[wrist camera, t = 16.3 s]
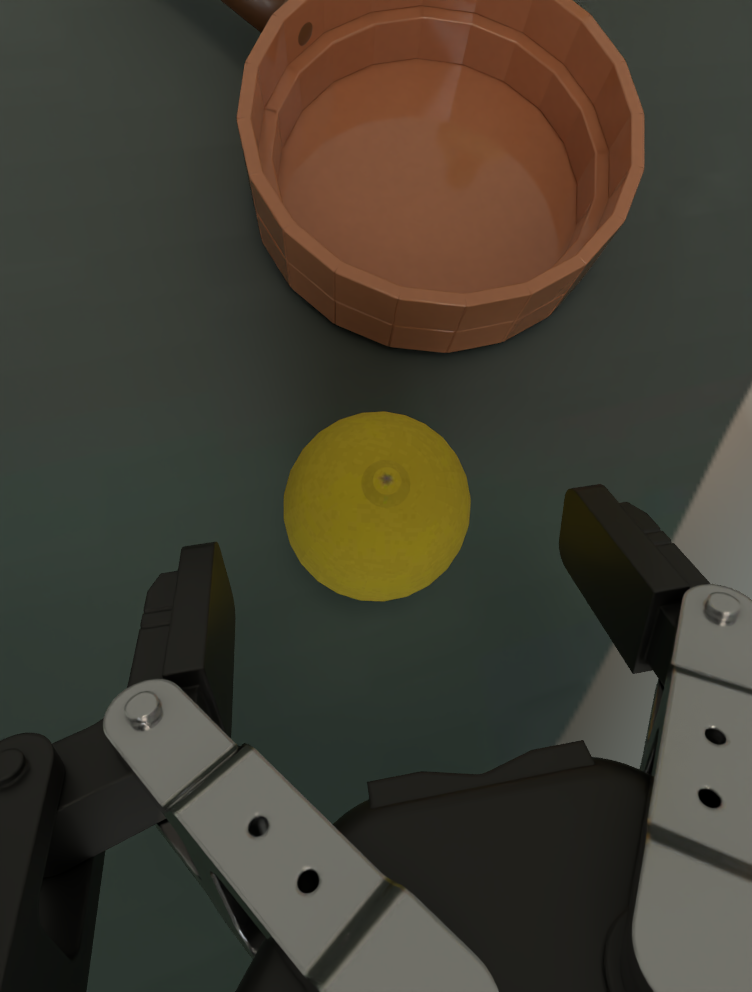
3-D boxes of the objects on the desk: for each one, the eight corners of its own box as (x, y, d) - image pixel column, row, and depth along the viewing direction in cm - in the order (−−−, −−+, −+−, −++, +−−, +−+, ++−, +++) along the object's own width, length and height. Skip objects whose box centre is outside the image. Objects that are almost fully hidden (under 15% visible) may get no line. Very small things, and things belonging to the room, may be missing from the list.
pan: (179, 198, 24) (149, 118, 20) (408, -11, 27) (420, -116, 23) (452, 427, 23) (476, 390, 19) (663, 187, 26) (721, 112, 22)
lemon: (449, 462, 23) (507, 384, 15) (437, 611, 22) (493, 609, 14) (302, 445, 23) (286, 357, 15) (283, 594, 22) (254, 584, 14)
